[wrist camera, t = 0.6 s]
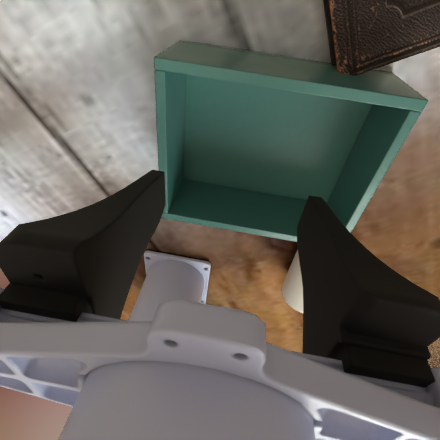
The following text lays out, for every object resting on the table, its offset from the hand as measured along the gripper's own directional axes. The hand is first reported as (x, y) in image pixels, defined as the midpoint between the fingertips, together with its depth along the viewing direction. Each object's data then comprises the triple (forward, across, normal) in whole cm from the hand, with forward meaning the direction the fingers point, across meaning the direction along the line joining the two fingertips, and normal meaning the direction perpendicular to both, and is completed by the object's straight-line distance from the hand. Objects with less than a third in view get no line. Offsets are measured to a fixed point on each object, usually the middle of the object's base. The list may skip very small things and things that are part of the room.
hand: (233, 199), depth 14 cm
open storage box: (+10, -2, +1) cm, 10 cm away
